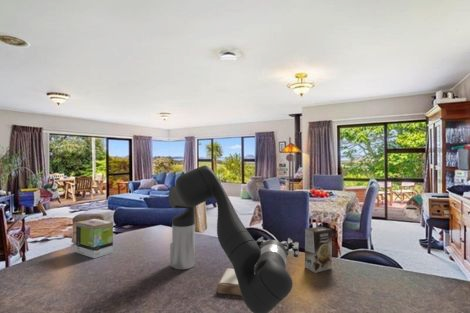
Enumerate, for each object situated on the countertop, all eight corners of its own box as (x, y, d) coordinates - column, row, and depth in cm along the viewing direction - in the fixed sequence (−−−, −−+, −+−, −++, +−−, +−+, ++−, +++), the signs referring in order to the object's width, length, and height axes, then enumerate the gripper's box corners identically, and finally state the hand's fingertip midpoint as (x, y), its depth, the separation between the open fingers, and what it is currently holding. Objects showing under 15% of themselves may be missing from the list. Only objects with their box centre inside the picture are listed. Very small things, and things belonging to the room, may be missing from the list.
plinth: (217, 292, 91) (217, 283, 91) (226, 276, 104) (226, 267, 104) (247, 296, 89) (247, 285, 89) (252, 278, 102) (252, 269, 102)
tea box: (113, 252, 130) (113, 221, 130) (93, 259, 121) (93, 226, 121) (95, 246, 138) (95, 217, 138) (75, 252, 129) (75, 221, 129)
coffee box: (315, 273, 107) (315, 232, 107) (304, 267, 112) (304, 228, 112) (332, 269, 111) (332, 229, 111) (320, 263, 117) (320, 225, 116)
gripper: (299, 246, 71) (298, 229, 87) (245, 242, 73) (253, 227, 89) (300, 275, 71) (298, 253, 87) (245, 270, 73) (253, 250, 89)
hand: (275, 240), depth 88 cm, fingers open, 8 cm apart
